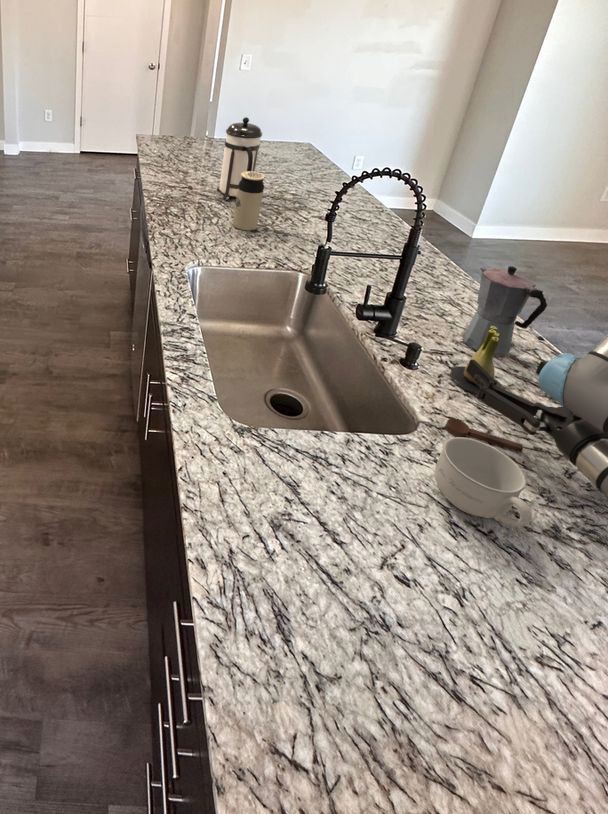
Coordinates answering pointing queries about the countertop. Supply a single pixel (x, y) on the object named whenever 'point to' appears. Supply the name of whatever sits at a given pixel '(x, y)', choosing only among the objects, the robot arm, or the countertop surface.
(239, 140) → the coffee press
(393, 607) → the countertop surface
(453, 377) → the slate coaster
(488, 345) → the fennel bulb
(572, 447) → the robot arm
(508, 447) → the wooden spoon
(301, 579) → the countertop surface
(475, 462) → the teacup
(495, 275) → the moka pot
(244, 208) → the travel mug
